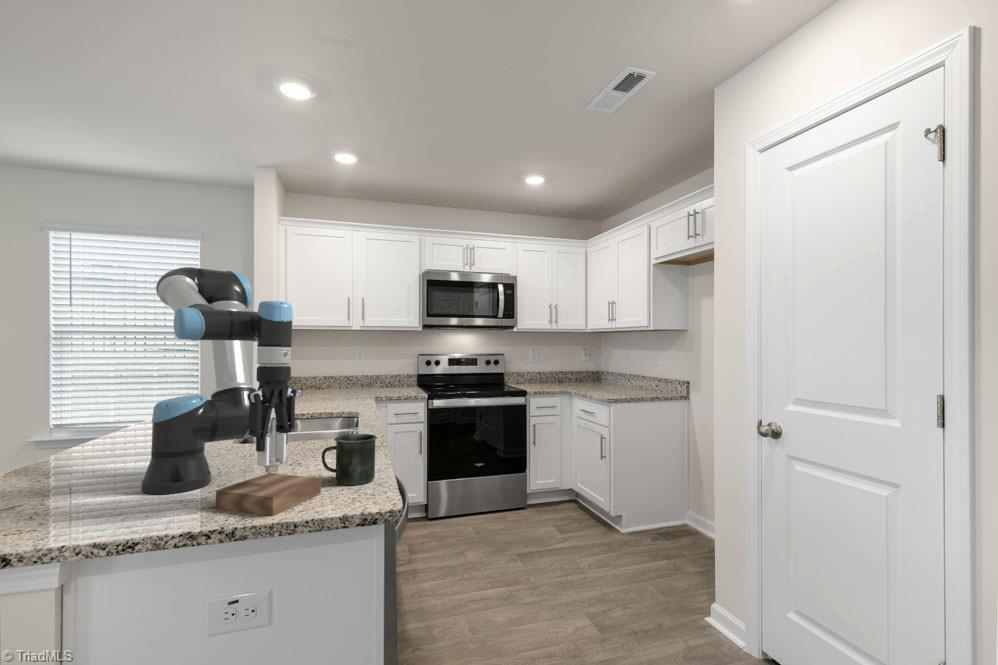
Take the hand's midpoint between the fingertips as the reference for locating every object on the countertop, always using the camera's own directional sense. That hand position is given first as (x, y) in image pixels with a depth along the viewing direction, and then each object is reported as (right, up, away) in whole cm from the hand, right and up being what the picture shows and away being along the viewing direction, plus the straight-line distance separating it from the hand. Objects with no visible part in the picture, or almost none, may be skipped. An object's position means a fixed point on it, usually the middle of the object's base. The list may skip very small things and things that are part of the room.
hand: (271, 462), depth 112 cm
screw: (0, -2, 0) cm, 2 cm away
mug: (+13, -10, +16) cm, 24 cm away
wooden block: (0, -9, 0) cm, 9 cm away
